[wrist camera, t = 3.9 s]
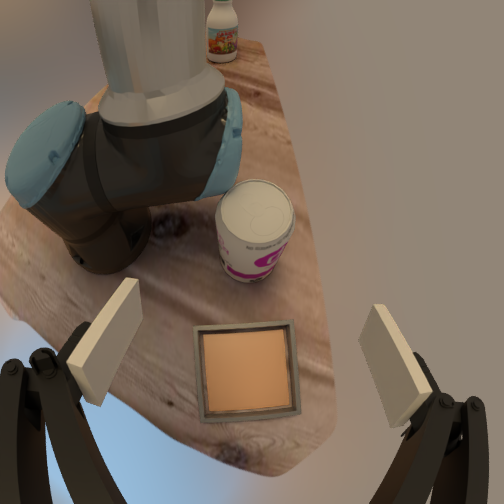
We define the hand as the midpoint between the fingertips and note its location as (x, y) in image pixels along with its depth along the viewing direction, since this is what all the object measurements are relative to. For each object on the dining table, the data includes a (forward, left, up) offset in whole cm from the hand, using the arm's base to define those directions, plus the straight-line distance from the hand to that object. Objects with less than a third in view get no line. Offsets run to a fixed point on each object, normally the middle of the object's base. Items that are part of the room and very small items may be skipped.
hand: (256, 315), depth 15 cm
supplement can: (+5, +10, -24) cm, 26 cm away
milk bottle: (+21, +63, -24) cm, 71 cm away
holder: (-2, -5, -24) cm, 24 cm away
